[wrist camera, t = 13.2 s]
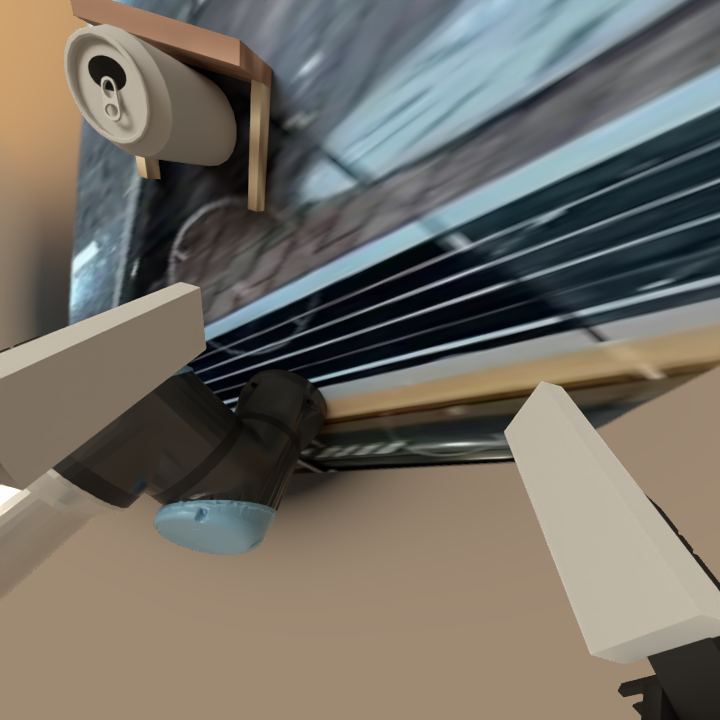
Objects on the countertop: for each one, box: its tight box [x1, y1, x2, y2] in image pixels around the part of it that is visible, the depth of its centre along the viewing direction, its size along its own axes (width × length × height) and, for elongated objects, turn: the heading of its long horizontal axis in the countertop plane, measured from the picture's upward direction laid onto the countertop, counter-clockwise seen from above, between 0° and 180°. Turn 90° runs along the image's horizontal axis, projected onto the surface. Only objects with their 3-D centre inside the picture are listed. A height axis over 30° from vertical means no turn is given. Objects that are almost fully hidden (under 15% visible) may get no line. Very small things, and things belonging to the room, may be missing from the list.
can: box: [64, 24, 237, 166], centre depth 25 cm, size 8×8×12 cm
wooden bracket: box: [71, 0, 272, 212], centre depth 27 cm, size 12×14×6 cm
